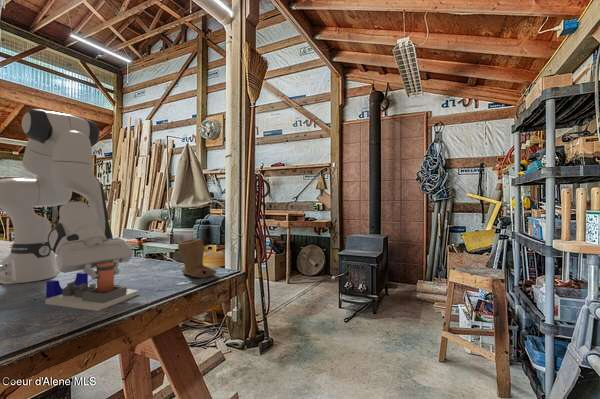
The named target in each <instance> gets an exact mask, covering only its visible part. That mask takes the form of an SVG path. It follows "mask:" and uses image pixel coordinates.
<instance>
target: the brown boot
mask: <svg viewBox="0 0 600 399" xmlns="http://www.w3.org/2000/svg"><path fill="white" fill-rule="evenodd" d="M203 242H204V241H203V240H202V239H201V238H192V239H187V240H182V241H180V242H178V244H177V245H178V247H177V248H178V253H179V255H180V257H181V259H182V261H183V264H184V268H183V269H181V273H183V274H185V275H188V276H191V277H194V278H200V279H202V278H203V279H204V278H208V277H209V278H210V277H211V276H213V275H216V274H217V270H216V269H213V268H211V267H207V266H205V265H204V251H205V250H204V243H203Z"/></svg>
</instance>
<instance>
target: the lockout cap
mask: <svg viewBox="0 0 600 399" xmlns="http://www.w3.org/2000/svg"><path fill="white" fill-rule="evenodd" d="M96 271H98V272H99V274H100V276H99V278H98V279H96V286H97V292H108V291H112V290H114V286H115V275H114V263H113V262H105V263H99V264H97V267H96Z"/></svg>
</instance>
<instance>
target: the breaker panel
mask: <svg viewBox="0 0 600 399" xmlns="http://www.w3.org/2000/svg"><path fill="white" fill-rule="evenodd" d="M70 282H71V283H70ZM70 282H69V283H66V286H67V288H65V287H64V288H62V294H60V295H57V296H54V297H50V298H47V299H46V298H45V299H44V305H49V306H55V307H56V306H58V307H64V308H71V309H80V310H81V309H82V310H86V311H87V310H88V311H95V312H99V311H101V310H103V309H107V308H108V307H112V306H114V305H116V304H119V303H122V302H123V301H127V300H128V299H131V298H134V297H136V296H139V290H138V289H133V288H132V289H131V288H128V287H127V286H124V285H121V284H114V290H112V291H108V292H97V282H96V283H95V282H92V283H88V286H87V284H81V285H79V286H75V282H73V281H70Z"/></svg>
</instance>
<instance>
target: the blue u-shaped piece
mask: <svg viewBox="0 0 600 399" xmlns="http://www.w3.org/2000/svg"><path fill="white" fill-rule="evenodd" d="M71 282H75V286H79V285H81V284H87V286H89V275H88V274H86V273H85V272H84V271H80V272H76V275H75V279H74V281H70V282H69V283H71ZM45 288H46V293H45V294H46V298H45V299H47V298H50V297H54V296H57V295H60V294H62V289H63V288H62V287H61V285H60V280H56V279H55V280H53V279H50V280H46V287H45ZM64 288H67V285H66V286H65V287H64Z"/></svg>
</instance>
